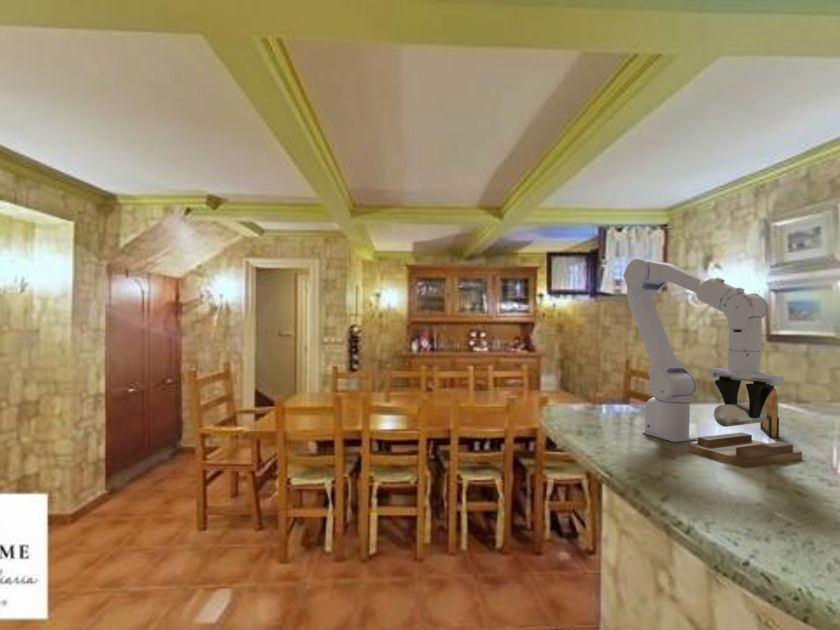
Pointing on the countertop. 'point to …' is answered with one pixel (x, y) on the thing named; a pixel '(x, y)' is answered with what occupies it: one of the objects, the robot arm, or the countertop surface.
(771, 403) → the ammunition clip
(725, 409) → the steel axle
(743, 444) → the cradle block
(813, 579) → the countertop surface
